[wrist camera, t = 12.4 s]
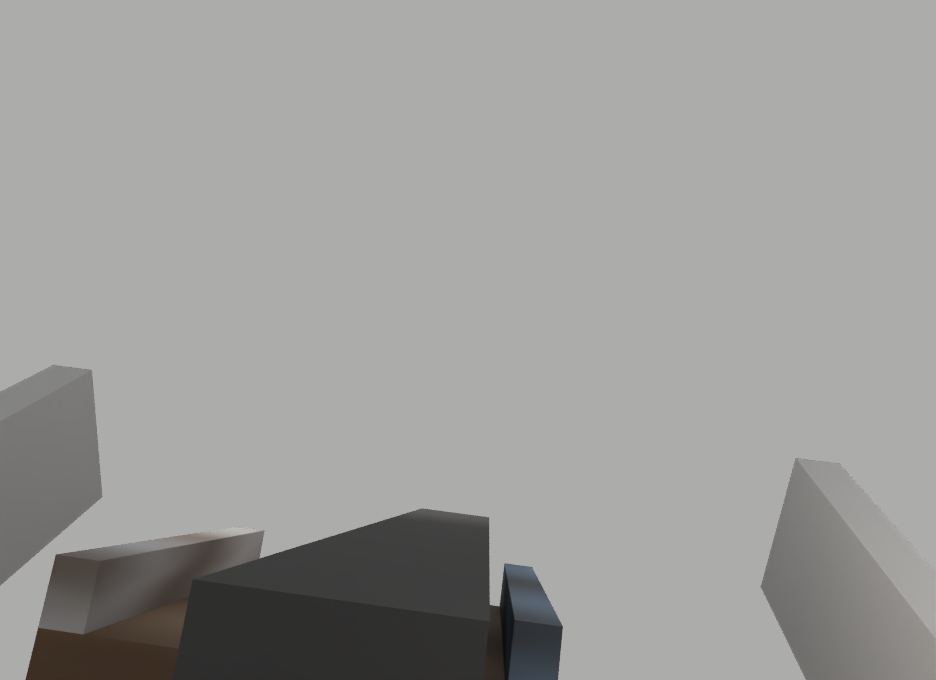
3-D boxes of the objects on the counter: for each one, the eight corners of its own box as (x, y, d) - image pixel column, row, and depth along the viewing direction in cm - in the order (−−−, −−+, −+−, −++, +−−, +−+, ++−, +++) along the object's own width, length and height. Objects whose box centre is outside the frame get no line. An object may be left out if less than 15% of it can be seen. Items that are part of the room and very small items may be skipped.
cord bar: (442, 1038, 5) (490, 620, 6) (110, 981, 5) (193, 579, 6) (479, 599, 26) (488, 517, 26) (410, 589, 26) (422, 508, 26)
